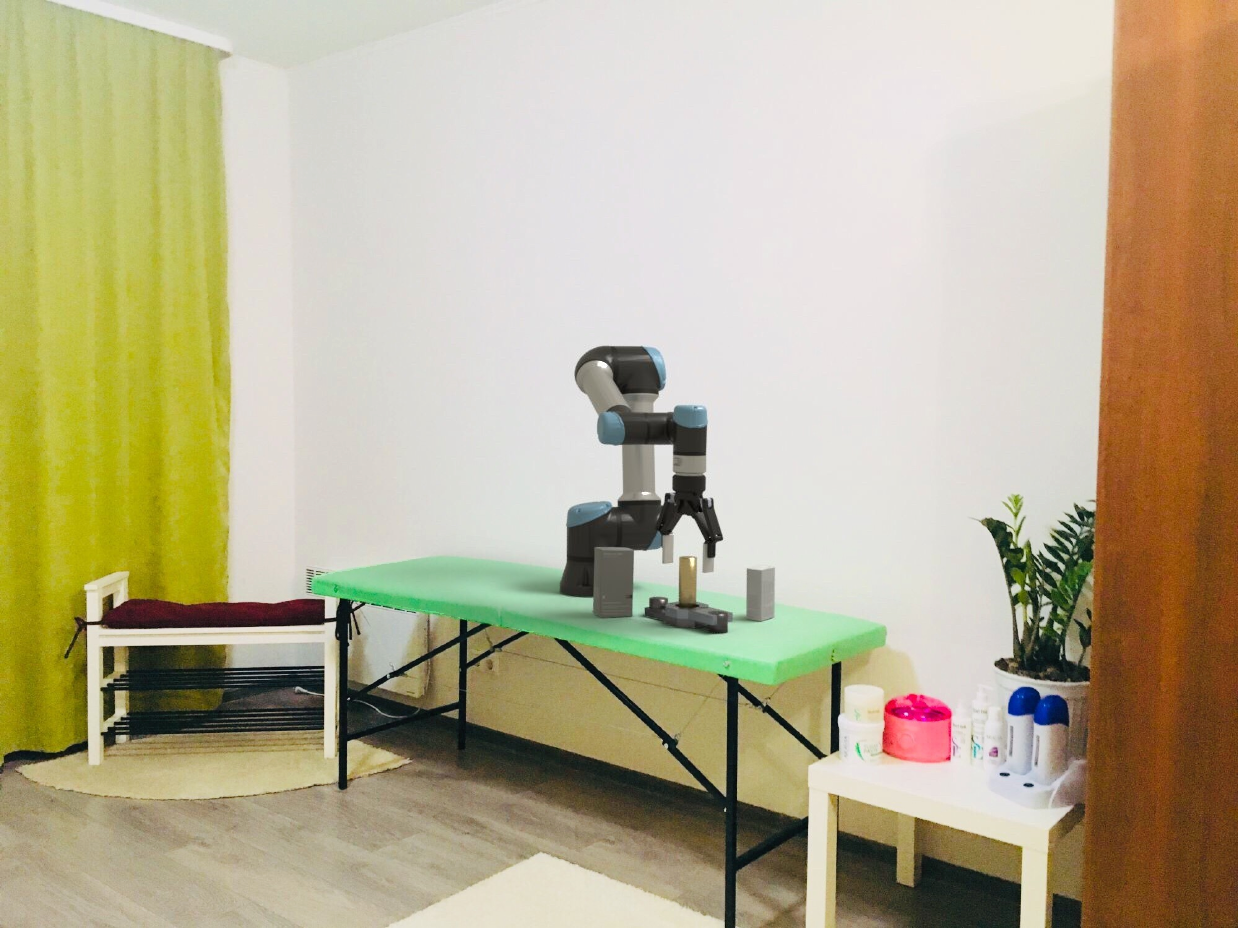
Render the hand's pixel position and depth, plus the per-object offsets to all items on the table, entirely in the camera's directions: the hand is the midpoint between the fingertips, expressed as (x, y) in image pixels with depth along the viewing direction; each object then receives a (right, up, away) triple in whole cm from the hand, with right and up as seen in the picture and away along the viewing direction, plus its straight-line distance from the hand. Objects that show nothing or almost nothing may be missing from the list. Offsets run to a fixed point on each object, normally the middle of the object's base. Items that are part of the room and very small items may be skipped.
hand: (687, 567), depth 231 cm
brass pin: (0, -13, +1) cm, 13 cm away
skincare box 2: (+17, -13, +6) cm, 22 cm away
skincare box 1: (-17, -12, +9) cm, 23 cm away
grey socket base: (0, -13, +1) cm, 13 cm away
